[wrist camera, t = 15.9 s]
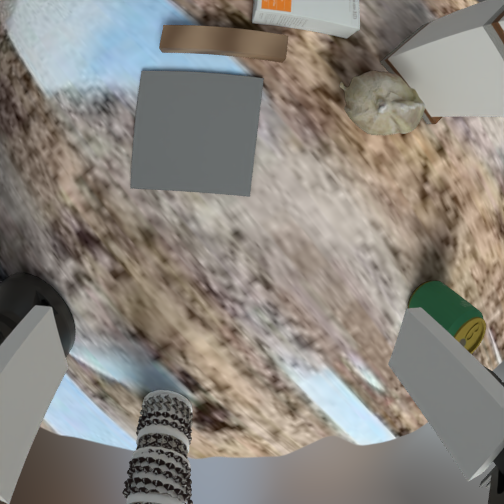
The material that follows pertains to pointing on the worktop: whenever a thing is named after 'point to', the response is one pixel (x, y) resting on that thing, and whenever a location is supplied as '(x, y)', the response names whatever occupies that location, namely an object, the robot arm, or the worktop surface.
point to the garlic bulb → (382, 103)
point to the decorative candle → (161, 451)
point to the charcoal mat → (196, 132)
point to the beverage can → (451, 313)
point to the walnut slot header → (223, 42)
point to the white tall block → (456, 63)
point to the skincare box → (310, 15)
